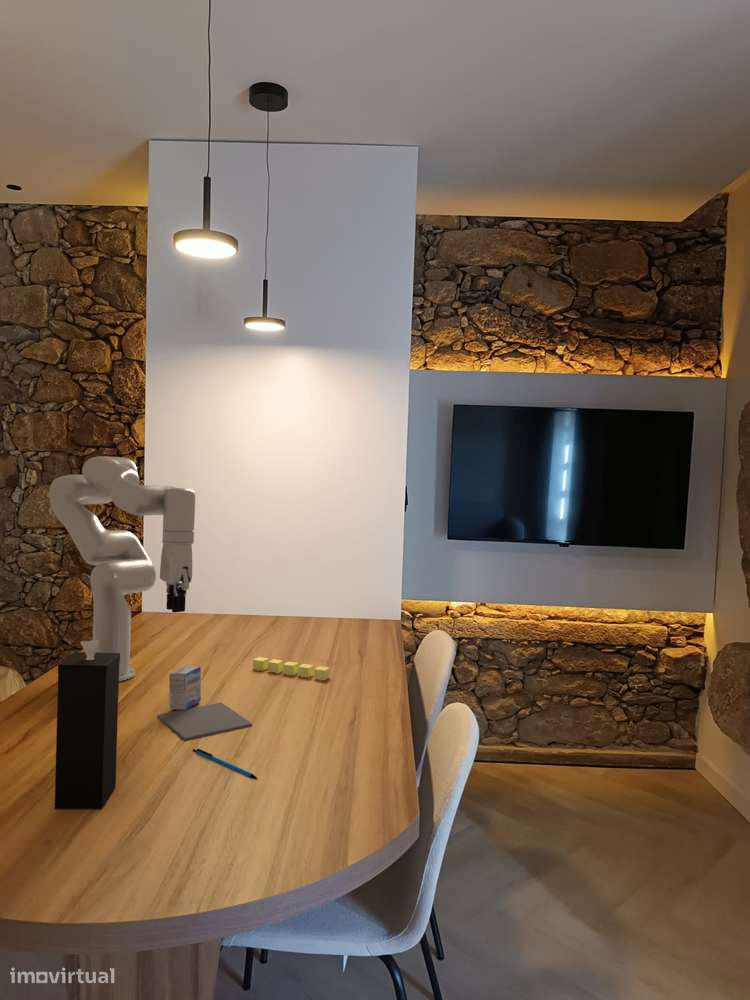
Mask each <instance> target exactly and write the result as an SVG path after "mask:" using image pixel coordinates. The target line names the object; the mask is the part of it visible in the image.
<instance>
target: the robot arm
mask: <svg viewBox="0 0 750 1000" xmlns="http://www.w3.org/2000/svg"><path fill="white" fill-rule="evenodd" d="M81 471H82V474H67V475H62V476H58V477H57V478H55V479H54V480H53V481H51V484H50V486H49V491H48V492H49V494H48V495H49V496H48V497H49V503H50V506H51V509H52V512H53V513H54V515H55V517H56V518H57V519H58V520H59V522H60V523H61V524H62V526H63V527H64V528H65V529H66V530H67V532H68V534H69V535H70V537H71V539H72V541H73V543H74V545H75V546H76V548H77V550H78V551H79V554H80V555H81V557H82V558H83V560H84V561H85V563H87V564H88V565H91V566H95V567H94V568H93V569H92V570H91V573H90V576H89V577H90V586H91V592H92V601H93V604H92V605H93V620H92V621H93V625H92V629H93V630H92V640H99V644H98V647H97V650H96V653H120V662H119V682H123V680H124V681H127V679H128V680H131V679H132V678H134V677H135V676H136V670H135V669H134V668H133V667H132V666H130V661H131V659H130V657H131V655H130V654H131V631H132V630H131V626H132V610H131V607H130V605H129V602H127V600H126V598H125V596H126V595H130V594H137V593H142V592H147V591H149V590H150V589H152V588H153V587H154V585H155V584H156V580H157V572H156V569H155V566H154V564H153V562H152V560H151V559H150V557H149V555H148V554H147V552H146V550H145V548H144V547H143V544H142V543H141V541H140V540H139V538H138V537H137V536H136V535H135V534H134V533H132V532H131V531H128V530H126V529H125V530H123V529H111V530H110V529H106V528H105V527H104V526H103V524H102V523H101V522H100V520H99V518H98V516H96V515H95V513H93V512H92V511H91V510H89V509H88V508H86V507H84V506H83V505H105V504H108V503H111V502H113V504H114V505H115V506H116V507H117V508H118V509H120V510H122V511H124V512H126V513H128V514H129V515H130V514H131V515H134V516H139V517H140V516H141V517H142V516H163V519H162V541H161V543H162V549H161V555H160V556H161V557H160V567H159V568H160V569H159V579H160V580H161V581H163V582H165V583H166V609H167V610H169V611H170V610H171V612H172V613H182V612H183V613H184V612H185V611H186V596H187V591H188V590H189V589H190V583H192V581H193V580H192V579H193V549H192V548H193V546H192V545H193V544H194V543H195V520H196V519H195V514H196V513H195V512H196V510H195V509H196V493H195V492H196V491H194V490H193V489H192V488H185V487H175V486H172V485H158V484H157V485H154V484H153V485H151V484H150V485H148V484H147V485H146V484H145V485H143V484H142V485H140V477H139V474H138V468H137V466H136V464H135V462H134V461H133V460H131V459H129V458H127V457H120V456H103V455H102V456H101V455H100V456H99V455H98V456H93V457H90V458H89V459H88V460H86V461H85V462H84V464H83V466H82V470H81ZM180 582H181V583H180Z"/></svg>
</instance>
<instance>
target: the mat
mask: <svg viewBox="0 0 750 1000" xmlns="http://www.w3.org/2000/svg"><path fill="white" fill-rule="evenodd" d="M157 718H158V719H160V721H161V722H163V723H164V724H165V725H166V726H168V727H169V729H171V730H172V731H173V732H175V733H176V734H177V735H178V736H179V737H180V738H181V739H182V740H184V741H188V740H192V739H197V738H202V737H206V736H210V735H215V734H219V733H224V732H229V731H233V730H238V729H243V728H247V727H251V726H253V722H250V721H249V720H248V719H247V718H245V717H243V716H242V715H241V714H239V713H238V712H236V711H235V710H233V709H232V708H230V707H229V706H227V705H226V704H224V703H223V702H217V703H212V704H211V703H210V704H206V705H201V706H195V707H190V708H189V709H187V710H174V711H170V712H163V713H160V714H159V713H158V714H157Z"/></svg>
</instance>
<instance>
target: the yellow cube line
mask: <svg viewBox="0 0 750 1000" xmlns="http://www.w3.org/2000/svg"><path fill="white" fill-rule="evenodd" d="M252 661H253V662H252V669H255V670H254V671H259V670H262V671H261V672H264V671H266V670H267V672H268V671H269V672H268V673H272V672H275V673H274V674H280V673H281V672H282V675H284V674H286V675H285V676H291V675H294V676H295V675H297V677H298V676H301V677H300V678H303V677H307V678H306V679H309V678H311V677H313V679H314V678H315V679H314V680H316V679H320V680H319V681H322V680H325V681H326V679H327V680H329V678H330V669H331V668H330V667H329V666H321V665H319V666H317V667H316V668H315V667H314V665H313V664H308V663H302V664H300V665H299V662H296V661H295V662H293V661H287V662H285V663H284V660H280V659H274V658H273V659H271V660H269V658H268V657H261V656H258V657H256V658H254V659H253V660H252ZM267 668H268V669H267ZM265 669H266V670H265ZM263 670H264V671H263ZM310 676H311V677H310ZM308 677H309V678H308Z"/></svg>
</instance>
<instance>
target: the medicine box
mask: <svg viewBox="0 0 750 1000" xmlns="http://www.w3.org/2000/svg"><path fill="white" fill-rule="evenodd" d="M201 671H202V668H201V667H200V666H197V665H196V666H194V665H192V666H191V665H187V666H184V667H181V668H179V669H177V670H175V671H173V672H170V673H169V709H170V710H174V711H179V710H187V709H189V708H193V707H194V706H195V705H197V704H198V703H200V702H201V701H202V699H201V698H202V697H201V694H202V692H201V691H202V687H201V685H202V681H201V680H202V672H201Z"/></svg>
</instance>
